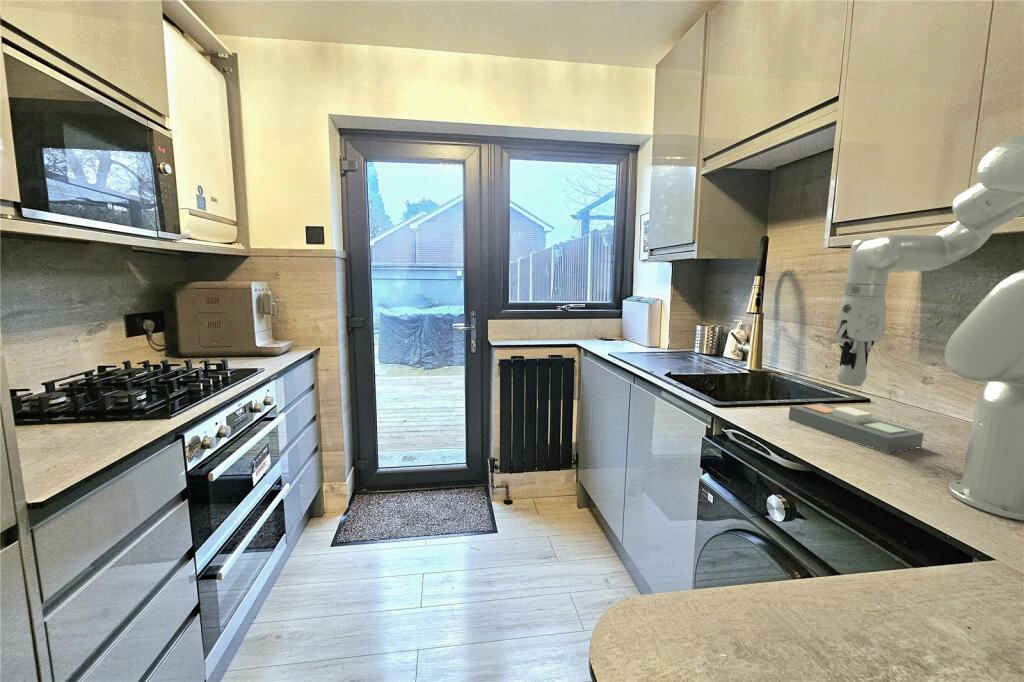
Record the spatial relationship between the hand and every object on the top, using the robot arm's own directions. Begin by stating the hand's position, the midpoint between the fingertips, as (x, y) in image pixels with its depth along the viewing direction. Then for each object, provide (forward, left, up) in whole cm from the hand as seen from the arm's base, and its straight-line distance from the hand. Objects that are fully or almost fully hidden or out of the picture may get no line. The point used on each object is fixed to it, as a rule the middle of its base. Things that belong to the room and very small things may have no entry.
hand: (852, 367), depth 104 cm
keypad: (+1, -4, -18) cm, 18 cm away
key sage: (-6, -4, -17) cm, 19 cm away
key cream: (+1, -4, -16) cm, 16 cm away
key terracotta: (+9, -4, -17) cm, 20 cm away
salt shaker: (0, 0, -4) cm, 4 cm away
